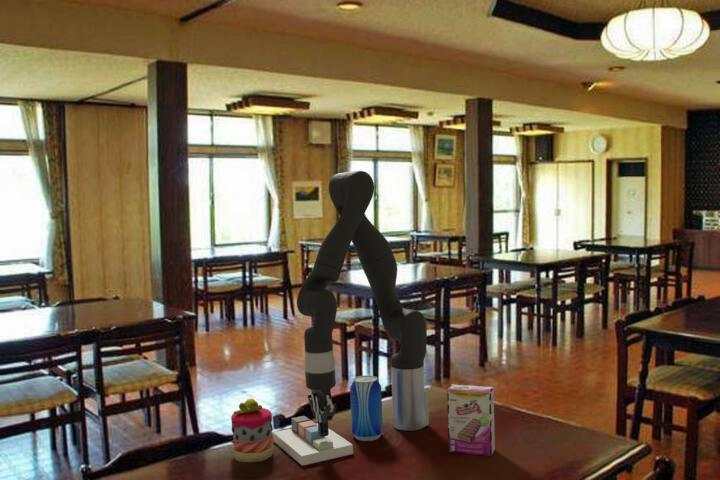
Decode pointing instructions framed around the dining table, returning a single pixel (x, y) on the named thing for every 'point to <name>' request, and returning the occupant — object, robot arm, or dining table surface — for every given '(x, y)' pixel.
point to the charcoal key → (298, 420)
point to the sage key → (322, 444)
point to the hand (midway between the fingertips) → (323, 435)
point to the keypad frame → (311, 447)
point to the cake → (252, 432)
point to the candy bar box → (471, 419)
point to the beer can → (366, 408)
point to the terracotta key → (302, 428)
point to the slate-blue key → (312, 434)
